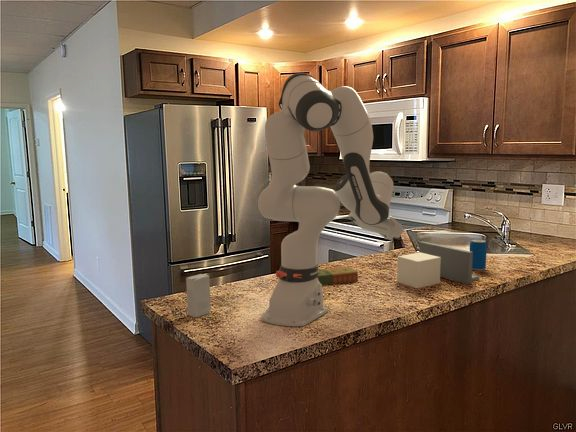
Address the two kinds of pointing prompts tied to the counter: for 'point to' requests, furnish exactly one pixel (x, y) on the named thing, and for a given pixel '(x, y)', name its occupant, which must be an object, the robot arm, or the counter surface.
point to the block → (418, 270)
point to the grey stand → (451, 262)
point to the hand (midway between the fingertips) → (389, 238)
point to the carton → (337, 275)
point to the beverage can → (478, 254)
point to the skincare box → (198, 295)
